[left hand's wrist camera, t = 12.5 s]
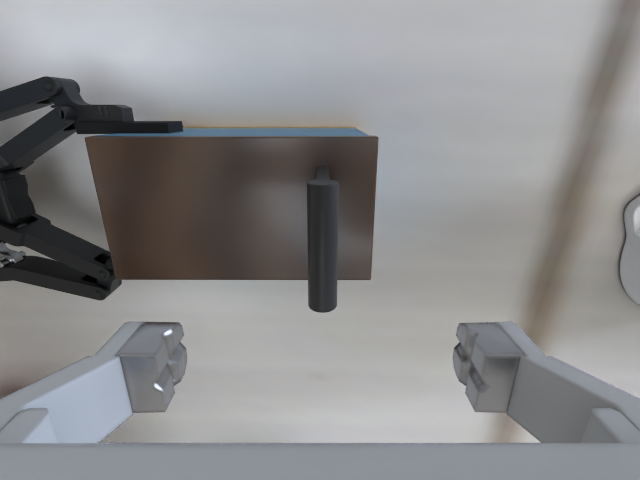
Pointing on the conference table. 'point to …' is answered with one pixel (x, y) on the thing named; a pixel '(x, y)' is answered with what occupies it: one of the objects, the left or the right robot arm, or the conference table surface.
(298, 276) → the lid
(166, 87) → the conference table surface
